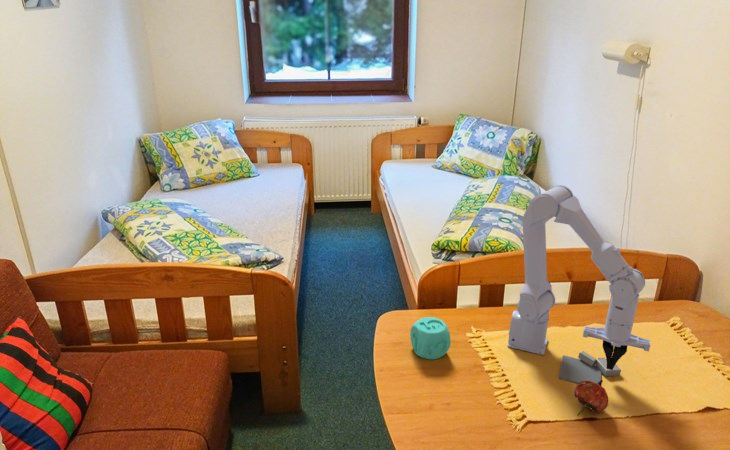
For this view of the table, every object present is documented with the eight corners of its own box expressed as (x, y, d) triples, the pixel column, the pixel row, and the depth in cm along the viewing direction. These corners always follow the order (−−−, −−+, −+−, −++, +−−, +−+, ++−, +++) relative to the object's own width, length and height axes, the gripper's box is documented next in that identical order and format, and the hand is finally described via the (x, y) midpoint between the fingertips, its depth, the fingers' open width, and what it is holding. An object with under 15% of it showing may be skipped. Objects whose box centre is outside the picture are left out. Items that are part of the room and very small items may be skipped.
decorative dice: (409, 344, 149) (410, 319, 146) (436, 339, 151) (438, 314, 148) (421, 362, 142) (422, 335, 139) (449, 356, 144) (451, 330, 141)
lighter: (619, 375, 138) (601, 354, 145) (621, 369, 137) (603, 349, 144) (593, 376, 136) (576, 356, 143) (595, 371, 135) (578, 350, 143)
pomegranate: (595, 432, 123) (624, 398, 124) (582, 415, 119) (611, 381, 120) (570, 413, 129) (598, 382, 130) (557, 397, 126) (585, 365, 127)
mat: (558, 378, 136) (558, 377, 136) (562, 356, 145) (562, 355, 144) (599, 388, 133) (600, 387, 133) (601, 365, 141) (601, 364, 141)
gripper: (586, 320, 129) (576, 368, 134) (655, 335, 124) (642, 384, 129) (588, 306, 135) (579, 352, 140) (653, 319, 130) (642, 367, 135)
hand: (609, 367), depth 135 cm, fingers closed
